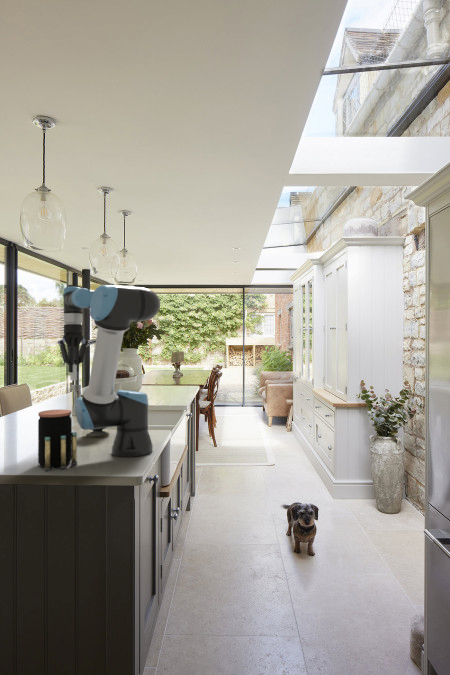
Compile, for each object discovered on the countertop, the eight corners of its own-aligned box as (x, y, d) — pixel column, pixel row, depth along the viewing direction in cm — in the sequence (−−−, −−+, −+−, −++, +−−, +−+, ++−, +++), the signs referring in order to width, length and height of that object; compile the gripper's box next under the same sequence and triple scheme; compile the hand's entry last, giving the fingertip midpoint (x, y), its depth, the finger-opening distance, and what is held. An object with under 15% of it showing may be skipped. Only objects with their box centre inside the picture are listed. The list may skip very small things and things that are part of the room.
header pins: (43, 470, 142) (43, 436, 142) (75, 463, 150) (75, 431, 150) (48, 473, 140) (48, 438, 140) (80, 466, 147) (80, 433, 147)
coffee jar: (53, 458, 156) (53, 408, 156) (78, 461, 153) (78, 410, 153) (31, 467, 146) (31, 413, 146) (57, 470, 143) (57, 415, 143)
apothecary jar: (105, 431, 203) (105, 392, 203) (115, 435, 193) (115, 395, 193) (79, 434, 196) (79, 394, 196) (89, 439, 186) (89, 397, 186)
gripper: (83, 324, 190) (83, 378, 190) (54, 324, 181) (54, 380, 180) (91, 324, 185) (92, 379, 185) (62, 323, 176) (62, 381, 175)
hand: (73, 380), depth 182 cm, fingers closed
